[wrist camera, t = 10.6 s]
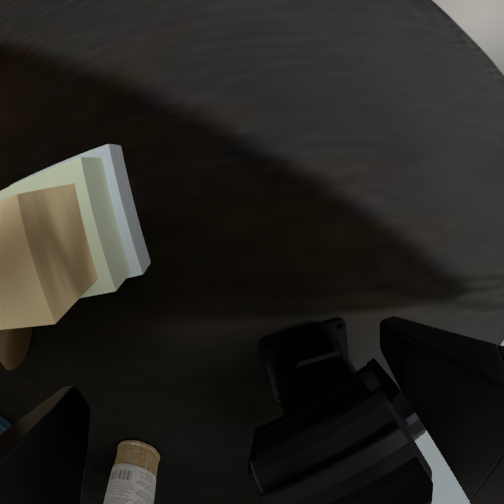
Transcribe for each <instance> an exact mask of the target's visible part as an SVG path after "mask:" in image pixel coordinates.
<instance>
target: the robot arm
mask: <svg viewBox="0 0 504 504" xmlns="http://www.w3.org/2000/svg"><path fill="white" fill-rule="evenodd" d="M339 323H341V324H340V326H337V324H339ZM336 326H337V327H336ZM266 343H270V344H269V345H268V346H265V344H266ZM260 346H261V350H262V354H263V357H264V361H265V365H266V369H267V373H268V377H269V380H270V384H271V388H272V392H273V396H274V399H275V401H277V402H280V403H281V407H282V411H283V416H281V417H279V418H278V419H276V420H274V421H272V422H270V423H268V424H266V425H264V424H262V425H260V426H258V427H256V430H255V435H254V439H253V444H252V449H251V454H250V459H249V464H248V476H249V478H250V480H251V483H252V485H253V488H254V490H255V491H256V493H257V495H258V496H259V497H260V499H261V500H262V502H263V503H264V504H431V502H432V492H433V483H432V480H431V478H432V471H431V468H430V466H429V465H428V463H427V461H426V460H425V458H424V456H423V455H422V453H421V451H420V450H419V448H418V447H417V445H416V443H415V441H414V440H415V439H417V438H418V437H420V436H421V435H423V434H424V433H425V430H424V428H423V426H422V424H423V425H424V427H425V429H426V430H427V431H428V433H429V435H430V436H431V438H432V440H433V441H434V443H435V444H436V446H437V448H438V449H439V451H440V452H441V454H442V456H443V457H444V459H445V461H446V462H447V464H448V465H449V467H450V469H451V471H452V472H453V474H454V476H455V477H456V479H457V481H458V482H459V484H460V486H461V487H462V489H463V491H464V492H465V494H466V496H467V498H468V500H470V501H469V502H470V503H471V504H504V346H501V345H498V346H497V345H496V344H493V343H489V342H486V341H482V340H478V339H474V338H471V337H467V336H463V335H460V334H456V333H452V332H449V331H445V330H441V329H438V328H434V327H431V326H427V325H424V324H420V323H416V322H413V321H409V320H406V319H402V318H399V317H395V316H392V317H389V318H387V319H384V320H382V321H381V323H380V348H381V351H382V353H383V355H384V357H385V359H386V361H387V363H388V365H389V367H390V369H391V371H392V373H393V375H394V377H395V379H396V381H397V383H398V385H399V387H400V389H401V390H400V389H399V388H398V386H397V385H396V384H395V382H394V381H393V380H392V379H391V378H390V377H389V375H388V374H387V373H386V372H385V371H384V369H383V368H382V367H381V366H380V365H379V364H378V362H377V361H376V360H375V359H374V358H373V359H372V360H370V361H369V362H367V365H366V366H364V367H363V368H361V369H360V370H358V371H356V369H355V368H354V366H353V364H352V363H351V361H350V360H349V358H348V346H347V333H346V324H345V321H344V320H343V319H342V318H336V319H332V320H329V321H325V322H322V323H319V322H318V323H314V324H311V325H307V326H304V327H300V328H296V329H292V330H289V331H287V332H285V333H281V334H277V335H273V336H269V337H265V338H263V339H262V340H261V342H260ZM401 391H402V392H401ZM403 394H404V395H403ZM278 396H279V397H278ZM414 411H415V412H414ZM416 414H417V415H416ZM417 416H418V417H417ZM419 419H420V420H419ZM89 420H90V408H89V405H88V404H87V402H86V401H85V399H84V397H83V396H82V394H81V393H80V391H79V390H78V388H76V387H75V386H65V387H63V388H61V389H60V390H59V391H57V392H56V393H55V394H53V395H52V396H51V397H49V398H48V399H47V400H45V401H44V402H43V403H41V404H40V405H39V406H37V407H36V408H35V409H33V410H32V411H31V412H29V413H28V414H27V415H25V416H24V417H23V418H21V419H20V420H19V421H18V422H16V423H15V424H14V425H12V426H11V427H10V428H8V429H7V430H6V431H4V432H3V433H2V434H0V504H80V500H81V492H82V484H83V476H84V469H85V463H86V456H87V446H88V432H89ZM420 421H421V422H422V424H421V422H420Z"/></svg>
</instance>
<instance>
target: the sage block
mask: <svg viewBox="0 0 504 504" xmlns="http://www.w3.org/2000/svg"><path fill="white" fill-rule="evenodd" d="M73 183H75V188H76V193H77V198H78V203H79V208H80V212H81V216H82V221H83V225H84V229H85V233H86V237H87V241H88V245H89V248H90V252H91V256H92V259H93V263H94V266H95V269H96V273H97V276H98V280H97V281H96V282H95V283H94V284H93V285H92V286H91V287H90V288H89V289H88V290H87V291H86V292H85V293H84V294H83V295H82V296H81V297H80V298H84V297H89V296H94V295H99V294H104V293H109V292H115V291H116V290H117V289H118V288H119V287H120V285H121V284H122V283H123V281H124V280H125V279H126V278H127V276H128V275H129V274H130V273H131V271H130V267H129V264H128V261H127V257H126V254H125V250H124V247H123V243H122V240H121V236H120V232H119V228H118V225H117V221H116V217H115V213H114V209H113V204H112V200H111V196H110V191H109V187H108V182H107V178H106V173H105V168H104V163H103V158H96V157H80V158H77V159H74V160H72V161H69V162H66V163H64V164H61V165H59V166H56V167H53V168H51V169H49V170H46V171H44V172H41V173H39V174H37V175H34V176H32V177H30V178H27V179H25V180H23V181H21V182H18V183H16V184H14V185H12V186H10V187H8V188H6V189H3V190H1V191H0V201H2V200H4V199H7V198H9V197H11V196H14V195H16V194H21V193H25V192H30V191H35V190H40V189H45V188H51V187H56V186H62V185H67V184H73Z"/></svg>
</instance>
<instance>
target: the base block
mask: <svg viewBox="0 0 504 504" xmlns="http://www.w3.org/2000/svg"><path fill="white" fill-rule="evenodd" d="M80 157H96V158H103V163H104V168H105V173H106V178H107V182H108V187H109V191H110V196H111V200H112V204H113V209H114V213H115V217H116V221H117V225H118V228H119V232H120V236H121V240H122V243H123V247H124V250H125V254H126V257H127V261H128V264H129V267H130V271H131V273H130V274H129V275H128V276H127V278H130V277H134V276H139V275H143V274H144V272H145V271H146V269H147V268H148V266H149V265H150V263H151V262H150V258H149V255H148V252H147V248H146V245H145V241H144V238H143V234H142V231H141V227H140V224H139V220H138V216H137V212H136V209H135V205H134V201H133V197H132V193H131V189H130V185H129V180H128V176H127V172H126V167H125V163H124V158H123V154H122V149H121V146H119V145H113V144H106V145H104V146H101V147H98V148H95V149H93V150H90V151H87V152H85V153H82V154H79V155H77V156H74V157H72V158H69V159H67V160H64V161H62V162H60V163H57V164H55V165H53V166H50V167H48V168H46V169H43V170H41V171H39V172H37V173H35V174H32V175H30V176H28V177H26V178H24V179H22V180H20V181H18V182H21V181H23V180H25V179H27V178H30V177H32V176H34V175H37V174H39V173H41V172H44V171H46V170H49V169H51V168H53V167H56V166H59V165H61V164H64V163H66V162H69V161H72V160H74V159H77V158H80ZM18 182H16V183H18ZM16 183H14V184H16ZM14 184H12V185H14ZM12 185H10V186H12Z"/></svg>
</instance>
